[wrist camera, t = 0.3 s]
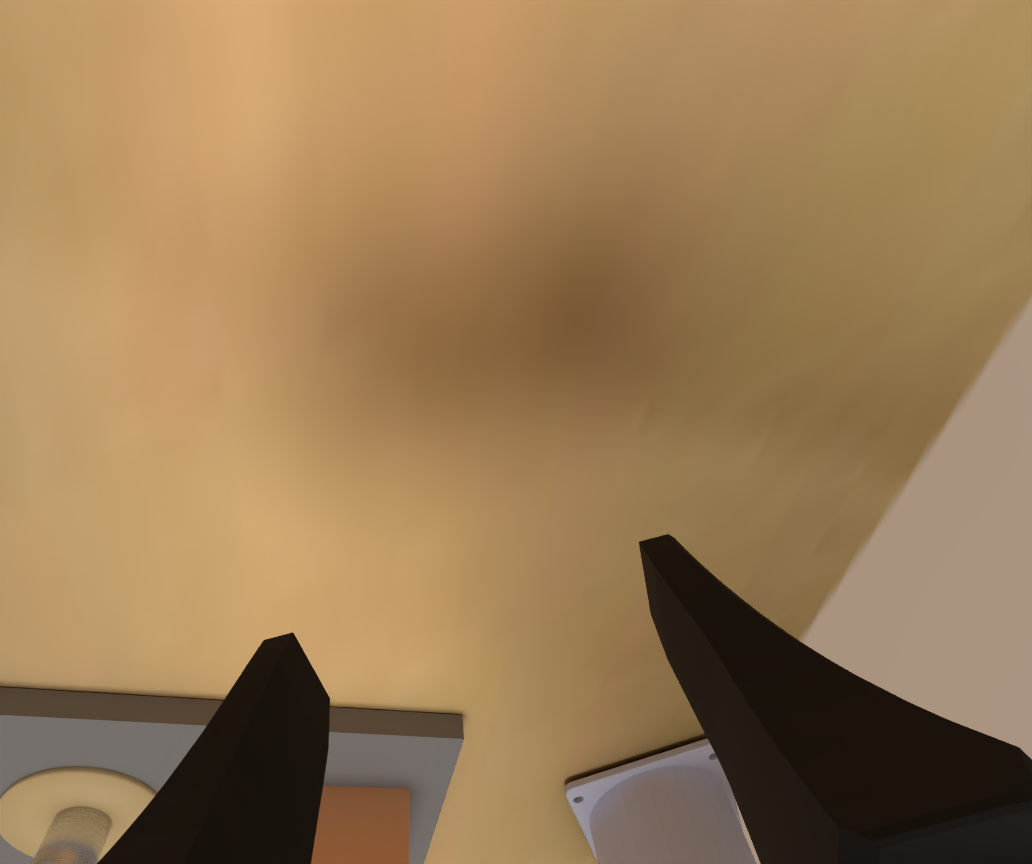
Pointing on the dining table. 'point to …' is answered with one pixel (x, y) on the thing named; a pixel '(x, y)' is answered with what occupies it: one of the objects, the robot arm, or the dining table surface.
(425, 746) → the seat plate
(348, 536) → the dining table surface
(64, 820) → the steel post
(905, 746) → the robot arm
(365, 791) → the collar
